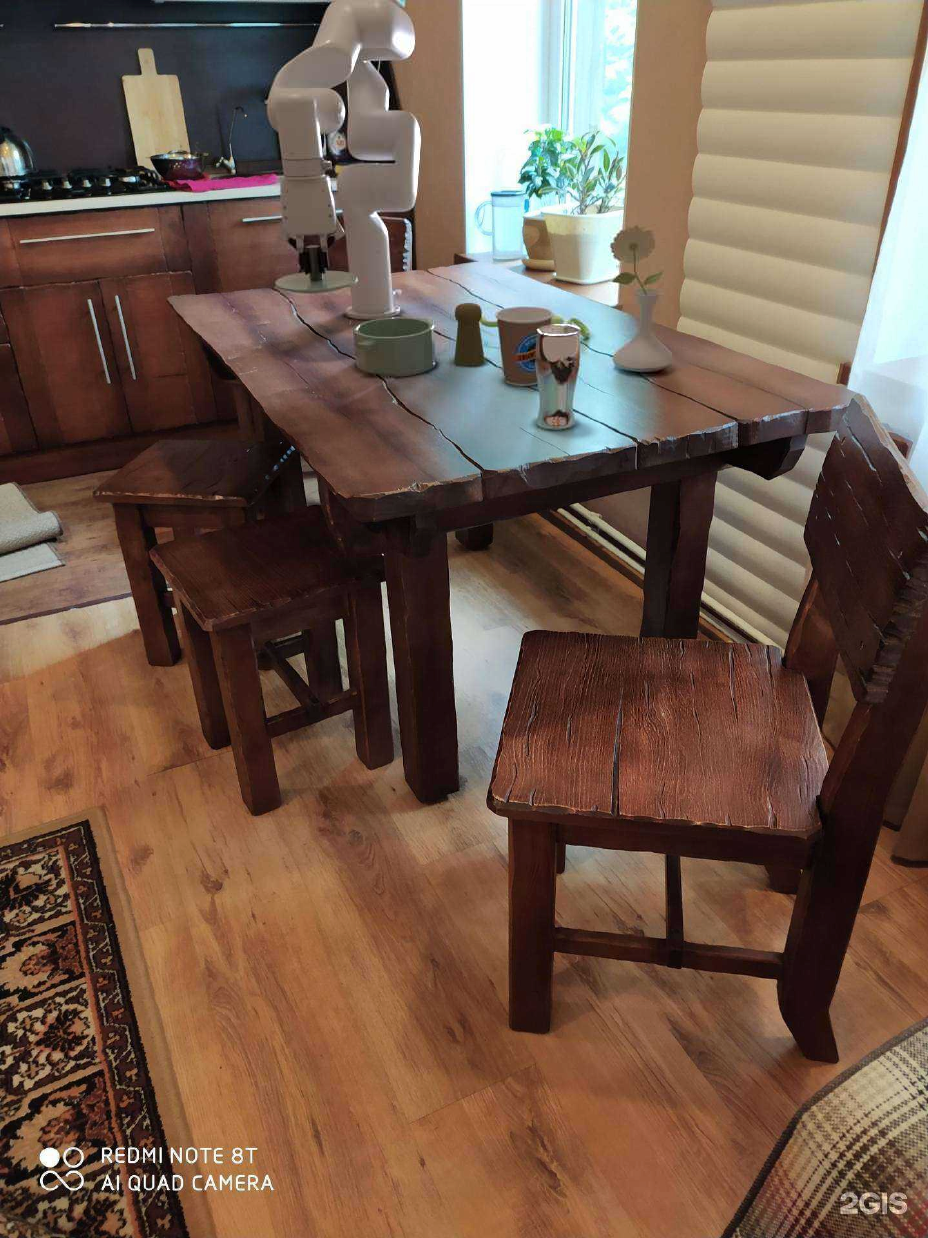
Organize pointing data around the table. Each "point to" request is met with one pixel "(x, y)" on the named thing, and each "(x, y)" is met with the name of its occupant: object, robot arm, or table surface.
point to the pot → (395, 346)
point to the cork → (468, 335)
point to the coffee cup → (520, 342)
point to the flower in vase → (640, 304)
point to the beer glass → (557, 374)
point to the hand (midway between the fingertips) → (315, 271)
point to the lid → (316, 277)
